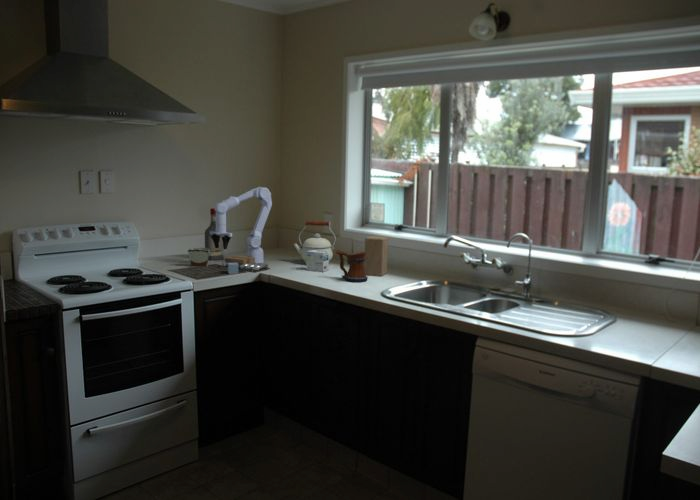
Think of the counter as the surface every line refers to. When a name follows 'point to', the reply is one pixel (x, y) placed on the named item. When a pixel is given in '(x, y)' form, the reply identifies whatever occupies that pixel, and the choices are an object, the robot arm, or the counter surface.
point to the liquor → (214, 252)
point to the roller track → (249, 267)
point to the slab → (240, 259)
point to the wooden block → (376, 255)
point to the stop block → (233, 268)
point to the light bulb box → (318, 260)
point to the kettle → (315, 242)
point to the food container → (198, 257)
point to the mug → (353, 266)
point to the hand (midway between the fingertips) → (221, 248)
